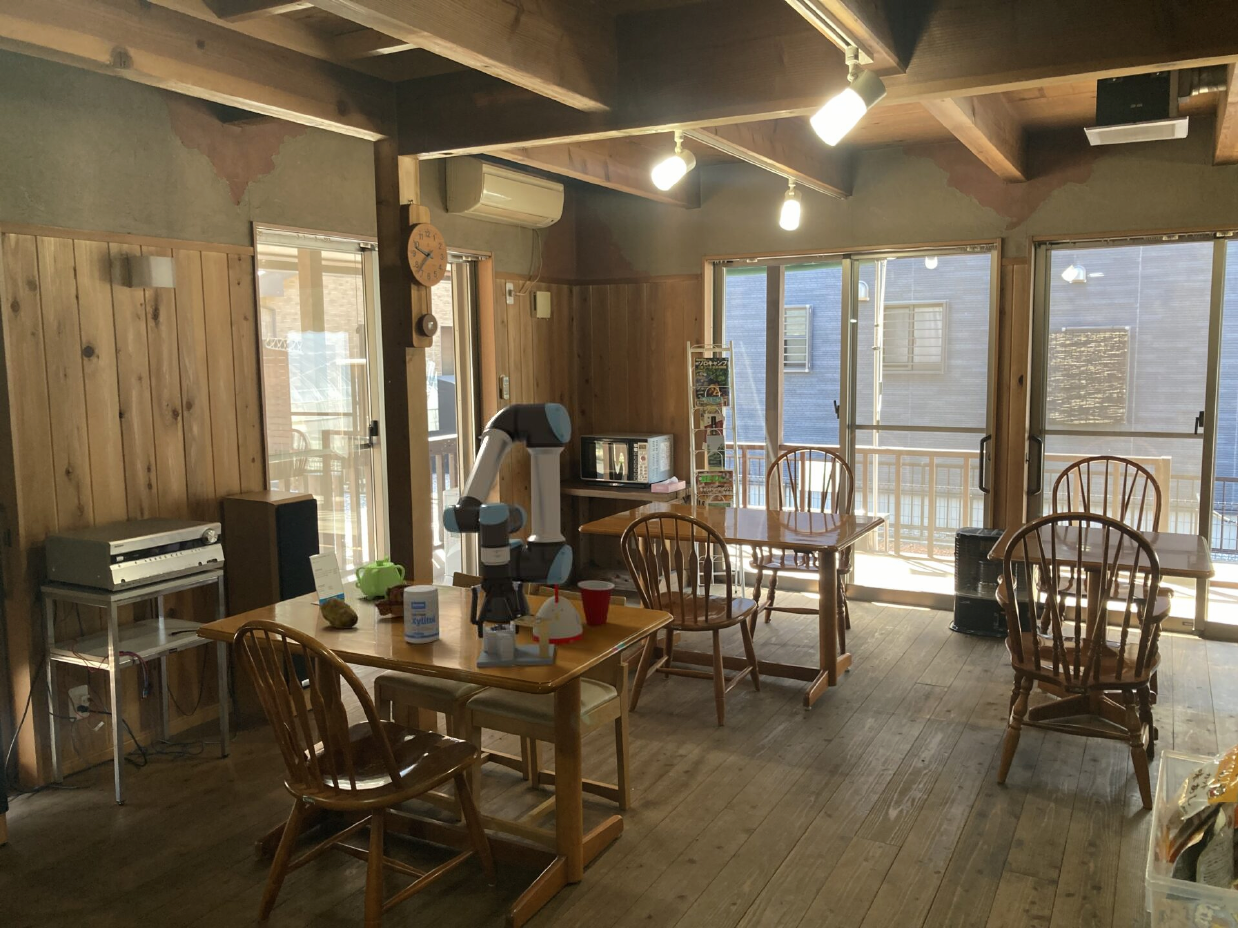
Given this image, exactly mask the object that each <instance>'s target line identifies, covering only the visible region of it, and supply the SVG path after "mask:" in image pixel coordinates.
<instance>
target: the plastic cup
mask: <svg viewBox="0 0 1238 928" xmlns="http://www.w3.org/2000/svg"><path fill="white" fill-rule="evenodd" d="M577 586H578V588H579V591H580V592H579V593H580V597H581V601H582V602H581V603H582V608H583V612H584V613H583V614H584V617H585V621H586V624H587V626H594V627H595V626H596V627H597V626H599V627H600V626H604V625H605V624H607V621H608V613H609V609H610V602H611V595H612V592H613V589H614V588H615V584H614V583H613V582H608V581H602V580H584V581H579V582H578V583H577Z"/></svg>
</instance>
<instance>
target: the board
mask: <svg viewBox="0 0 1238 928" xmlns="http://www.w3.org/2000/svg"><path fill="white" fill-rule="evenodd" d="M555 646H556V644H549V658H540V656H539V644H516V648H515V651H513V660H510V661H501V660H500V658H499V657H498V655H497V654H496V653H493V654H488V653H487V651H484V650H483V649H482V648H481V651H480V653H479V656H478V658H477V660H476V668H480V667H481V668H486V667H488V668H489V667H491V668H492V667H515V666H516V665H522V666H548V665H553V662H554V656H555V649H556V647H555ZM512 665H514V666H512Z"/></svg>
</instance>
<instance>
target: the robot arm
mask: <svg viewBox="0 0 1238 928" xmlns="http://www.w3.org/2000/svg"><path fill="white" fill-rule="evenodd" d="M571 434H572V424H571V420H570V416H569V413H568V411H567V409H566V408H565V406H564V405H562V404H560V403H551V402H546V403H545V402H543V403H542V402H541V403H540V402H539V403H513V404H510V405H507V406H505V407H503V408H502V409H500V410H499V411H498V412H497V413H495V414H494V416H492V417H491V419H490V420H489V421H488V423H486V425H485V427H484V429H483V431H482V433H481V437H480V440H481V445H480V447H479V450H478V452H477V455H476V456H475V460H474V461H473V465H472V467H471V469H470V472H469V475H468V477H467V479H466V481H465V484H464V487H463V489H462V492H461V494H460V496H459V499H458V501H457V503H456V504H453V505H448V506H446V507H445V509H443V514H442V524H443V527H444V529H445V530H446V531H447V532H449V533H454V534H480V560H481V561H480V562H482V564H481V581H480V584H477V585H471V586H470V592H471V606H470V616H469V618H470V619H469V622H470V624H471V625H474V626H477V636H478V638H479V639H481V650H482V649H483V650H484V651H487V643H486V624H485V621H488V622H494V623H496V622H497V623H503V622H504V623H505V622H510V623H509V625H510V626H511V627H512V628H513V630H514V639H515V648H516V645H517V642H516V641H517V640H516V639H517V637H516V635H519V634H520V625H516V624H514V620H515V619H518V618H521V617H523V616H526V615H529V616H531V607H530V603H529V600H528V598H527V594H526V593H525V586H524V584H539V585H540V584H544V585H550V586H551V585H555V584H558V585H560V584H563V583H565V581H566V580H567V579H568V577H569V575H570V572H571V570H572V566H573V565H572V564H573V551H572V550H573V549H572V546H570V545H568V544H566V542H567V541H566V537H565V536H564V535H562V533H561V483H560V482H561V479H560V478H561V475H560V474H561V473H560V469H561V468H560V465H561V464H560V455H561V452H563V450H564V449H565V444H566V443H568V442H569V441H570V439H571V437H572V436H571ZM516 443H525V450H526V451H527V452H528V453H529V454H530V480H531V481H530V486H531V487H530V488H531V489H530V491H531V493H530V495H531V498H530V500H531V535H529V537H527V539H526V544H524V542H523V540H522V539H521V538H510V535H511V534H514V533H517V532H519V531H520V530H522V529H523V528H524V527H525V525H526V524H527V519H528V516H527V513H526V510H525V508H524V507H522V506H520V505H519V504H515V503H514V504H507V503H505V502H488V500H489V497H490V495H491V493H492V490H493V488H494V487H493V486H494V484H495V482H496V479H497V477H498V475H499V474H498V473H499V471H500V468H501V467H502V464H503V461H504V459H505V456H506V455H507V452H509V451H510V450H511V449H512V448H513V445H514V444H516ZM487 502H488V503H487ZM481 590H483V591H484V597H483V600H482V603H481V607H480V611H479V615H478V603H479V602H478V601H479V595H480V593H481ZM477 615H478V617H477Z"/></svg>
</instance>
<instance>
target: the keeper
mask: <svg viewBox="0 0 1238 928" xmlns="http://www.w3.org/2000/svg"><path fill="white" fill-rule="evenodd" d="M514 624H516V625H519V626H523V627H530V628H533V627H535V628H539V643H538V645H539V656H540V658H549V625H550V624H553V619H549V618H542V617H535V615H534V616H533V615H530V616H529V615H526V616H523V617H521V618H518V619H515V620H514Z"/></svg>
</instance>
